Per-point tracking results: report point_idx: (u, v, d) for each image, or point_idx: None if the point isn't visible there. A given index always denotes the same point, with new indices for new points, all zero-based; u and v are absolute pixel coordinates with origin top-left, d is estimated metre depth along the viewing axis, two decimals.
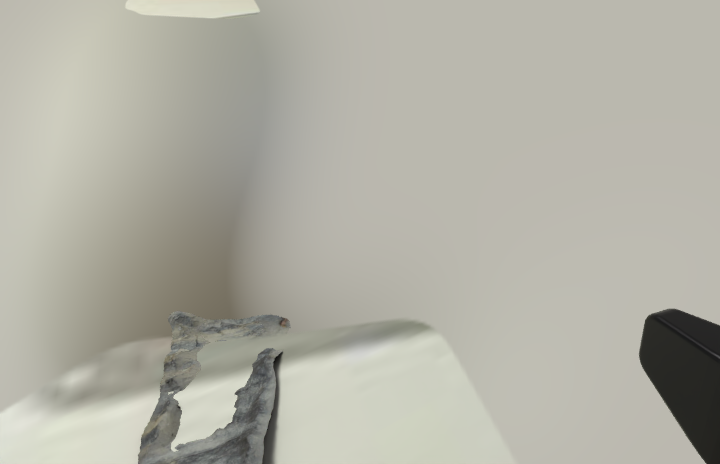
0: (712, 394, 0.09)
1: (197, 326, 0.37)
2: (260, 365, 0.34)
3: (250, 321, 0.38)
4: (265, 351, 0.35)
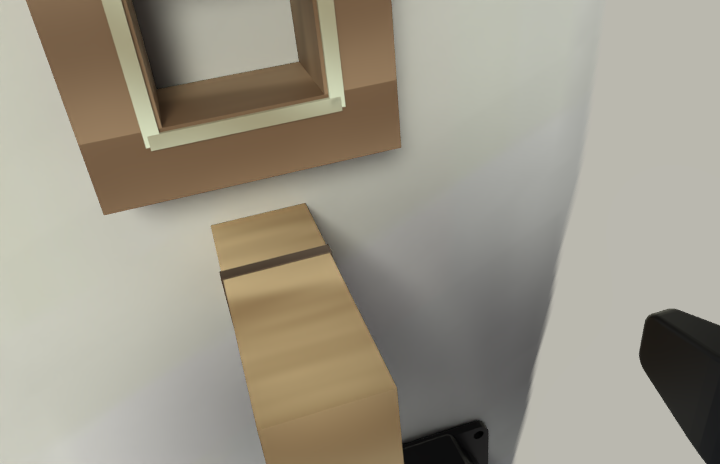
0: (712, 394, 0.09)
1: None
2: None
3: None
4: None
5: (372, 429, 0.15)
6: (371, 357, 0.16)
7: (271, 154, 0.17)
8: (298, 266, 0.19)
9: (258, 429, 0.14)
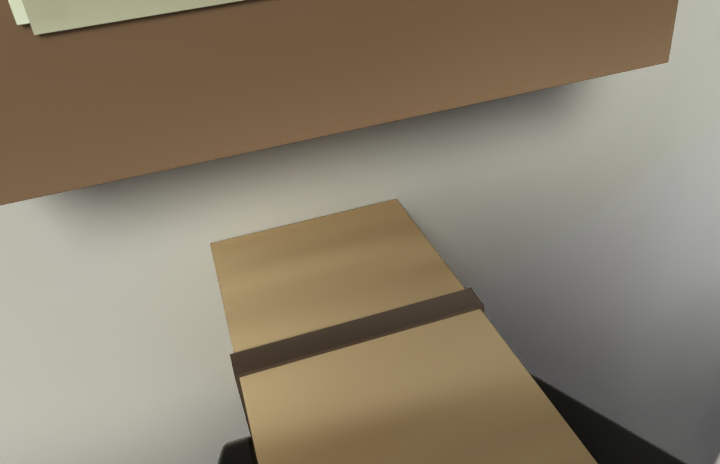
0: None
1: None
2: None
3: None
4: None
5: None
6: None
7: (369, 65, 0.07)
8: (415, 343, 0.08)
9: None
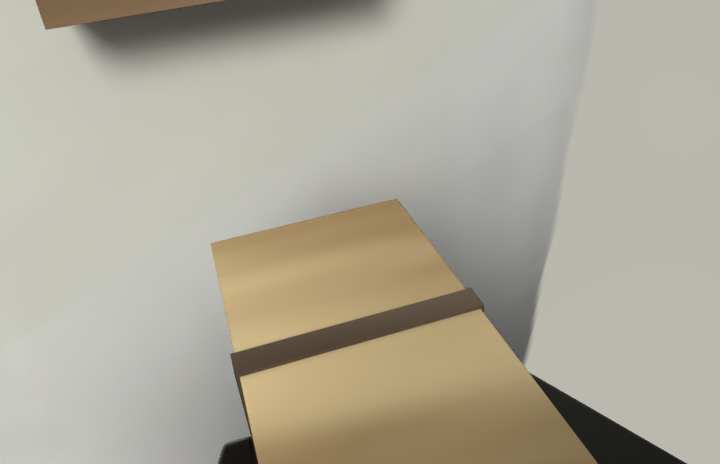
0: None
1: None
2: None
3: None
4: None
5: None
6: None
7: None
8: (415, 343, 0.08)
9: None
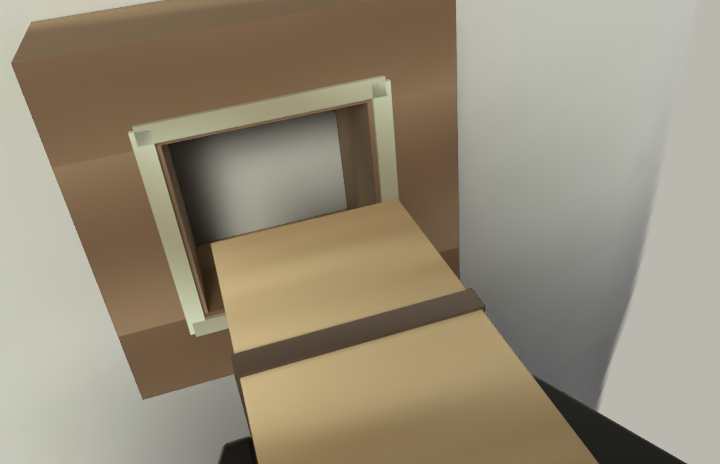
0: None
1: None
2: None
3: None
4: None
5: None
6: None
7: None
8: (416, 343, 0.08)
9: None
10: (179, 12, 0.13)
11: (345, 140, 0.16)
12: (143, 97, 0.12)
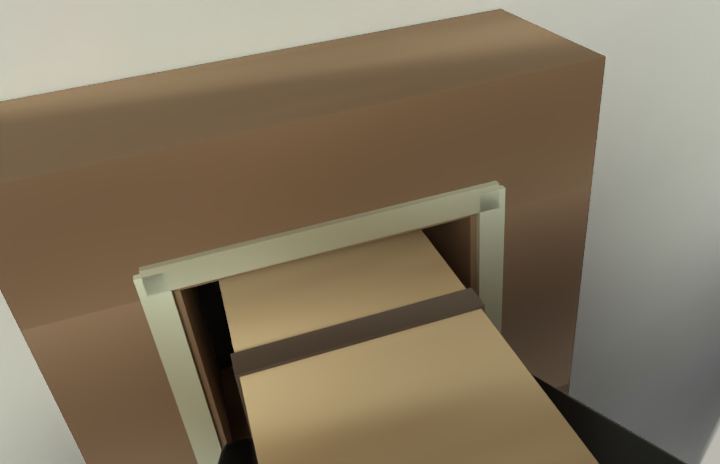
0: None
1: None
2: None
3: None
4: None
5: None
6: None
7: None
8: (415, 342, 0.08)
9: None
10: (206, 92, 0.09)
11: None
12: (155, 228, 0.08)
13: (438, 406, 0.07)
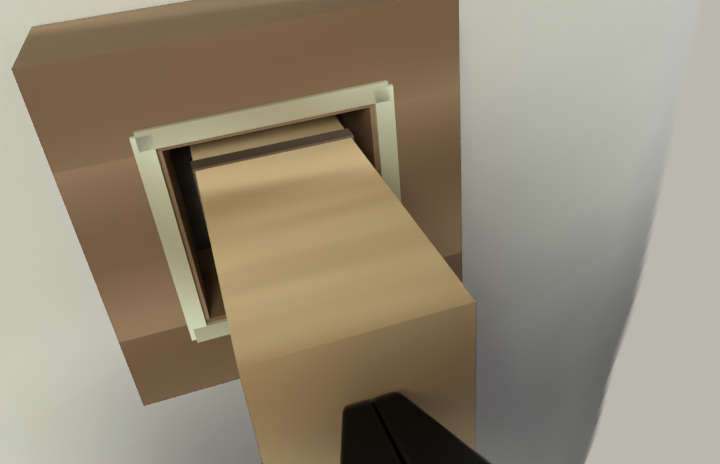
0: None
1: None
2: None
3: None
4: None
5: (430, 375, 0.09)
6: (427, 260, 0.10)
7: None
8: (306, 153, 0.13)
9: (239, 366, 0.08)
10: (180, 17, 0.13)
11: None
12: (144, 102, 0.12)
13: (311, 177, 0.12)
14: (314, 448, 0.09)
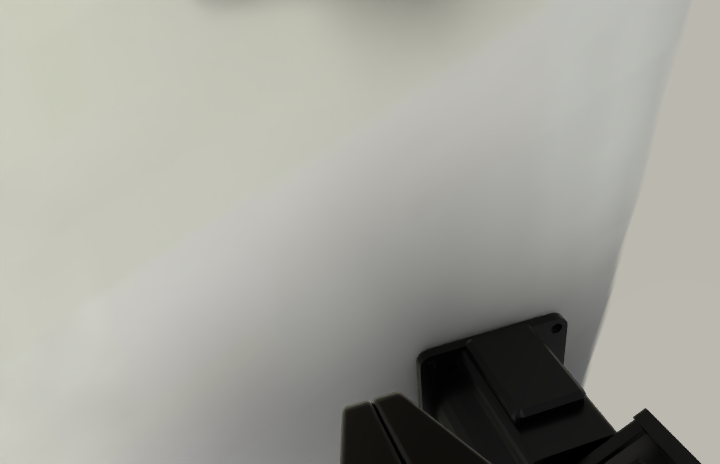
0: None
1: None
2: None
3: None
4: None
5: None
6: None
7: None
8: None
9: None
10: None
11: None
12: None
13: None
14: None
